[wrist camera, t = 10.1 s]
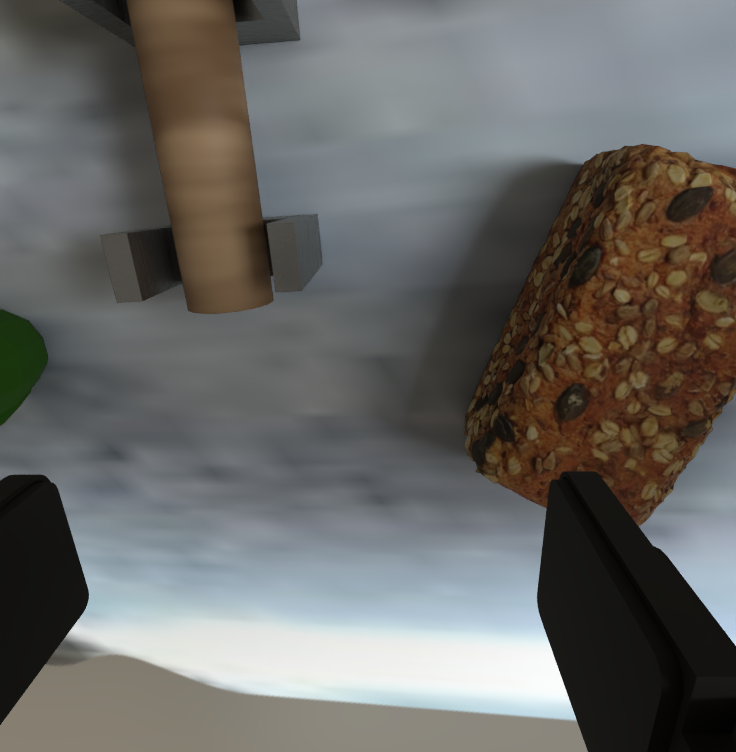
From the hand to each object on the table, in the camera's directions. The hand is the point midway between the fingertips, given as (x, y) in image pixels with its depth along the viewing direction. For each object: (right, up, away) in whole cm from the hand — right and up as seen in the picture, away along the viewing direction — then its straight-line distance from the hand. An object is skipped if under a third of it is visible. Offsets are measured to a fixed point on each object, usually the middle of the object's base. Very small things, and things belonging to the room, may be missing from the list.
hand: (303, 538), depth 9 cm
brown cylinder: (-7, +14, +14) cm, 21 cm away
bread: (+15, +7, +23) cm, 28 cm away
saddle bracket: (-6, +11, +21) cm, 24 cm away
